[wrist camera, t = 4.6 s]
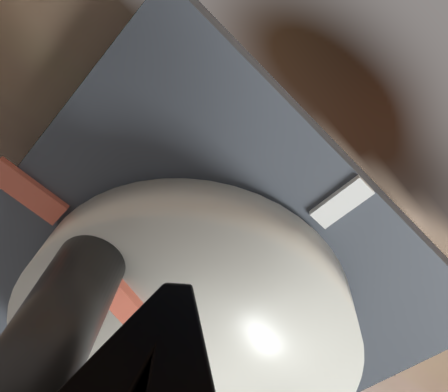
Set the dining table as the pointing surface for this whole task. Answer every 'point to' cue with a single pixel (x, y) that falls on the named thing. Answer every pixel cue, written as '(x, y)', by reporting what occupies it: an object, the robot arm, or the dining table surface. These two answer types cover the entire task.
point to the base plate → (225, 171)
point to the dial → (187, 274)
